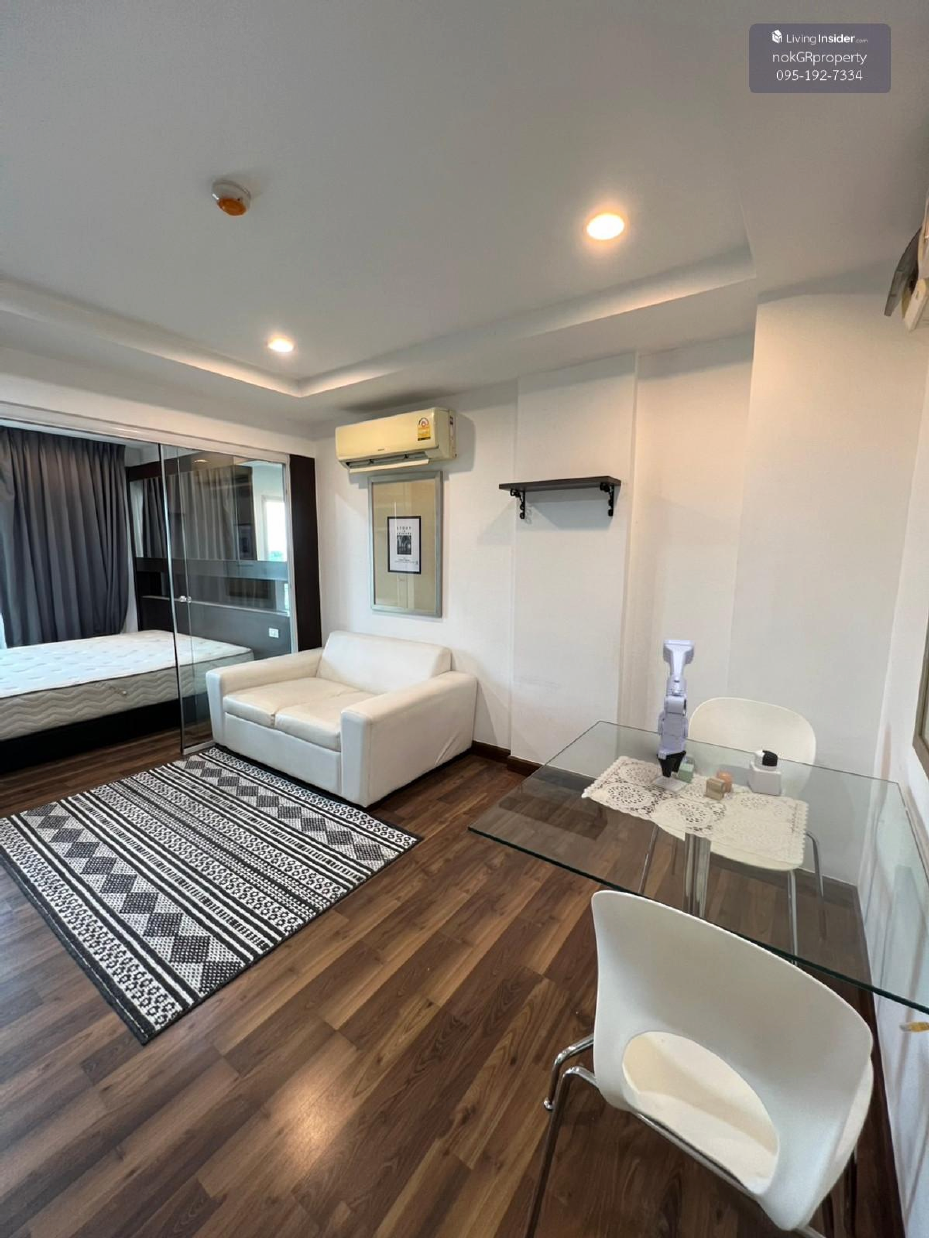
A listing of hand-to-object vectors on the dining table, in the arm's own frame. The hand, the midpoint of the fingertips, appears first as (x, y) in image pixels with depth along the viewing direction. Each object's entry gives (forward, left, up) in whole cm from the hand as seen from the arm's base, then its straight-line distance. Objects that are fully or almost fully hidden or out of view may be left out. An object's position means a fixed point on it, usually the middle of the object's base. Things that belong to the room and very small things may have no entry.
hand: (670, 774), depth 153 cm
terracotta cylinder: (-10, +12, -3) cm, 16 cm away
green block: (-5, +2, -2) cm, 6 cm away
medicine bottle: (-19, +21, -4) cm, 29 cm away
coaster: (0, 0, -3) cm, 3 cm away
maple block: (-3, +12, -3) cm, 13 cm away
